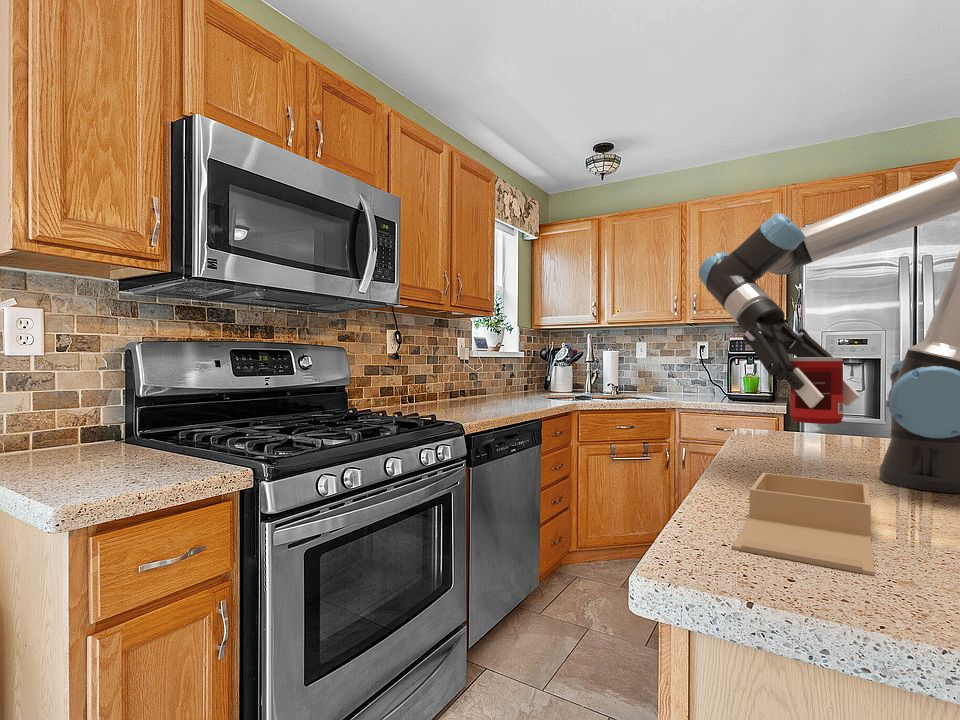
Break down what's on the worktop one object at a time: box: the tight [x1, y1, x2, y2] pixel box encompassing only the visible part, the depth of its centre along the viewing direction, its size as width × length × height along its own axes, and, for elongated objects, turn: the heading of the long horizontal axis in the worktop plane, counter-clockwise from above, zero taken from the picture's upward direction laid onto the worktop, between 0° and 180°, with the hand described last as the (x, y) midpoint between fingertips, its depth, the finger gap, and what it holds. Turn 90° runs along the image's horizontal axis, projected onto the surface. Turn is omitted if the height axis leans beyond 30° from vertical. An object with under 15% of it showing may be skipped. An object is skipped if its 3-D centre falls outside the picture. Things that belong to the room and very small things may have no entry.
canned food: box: [789, 356, 844, 425], centre depth 93 cm, size 8×8×11 cm
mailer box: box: [731, 472, 876, 577], centre depth 74 cm, size 28×14×4 cm, turn 146°
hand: (835, 401), depth 89 cm, fingers closed on canned food, 8 cm apart
